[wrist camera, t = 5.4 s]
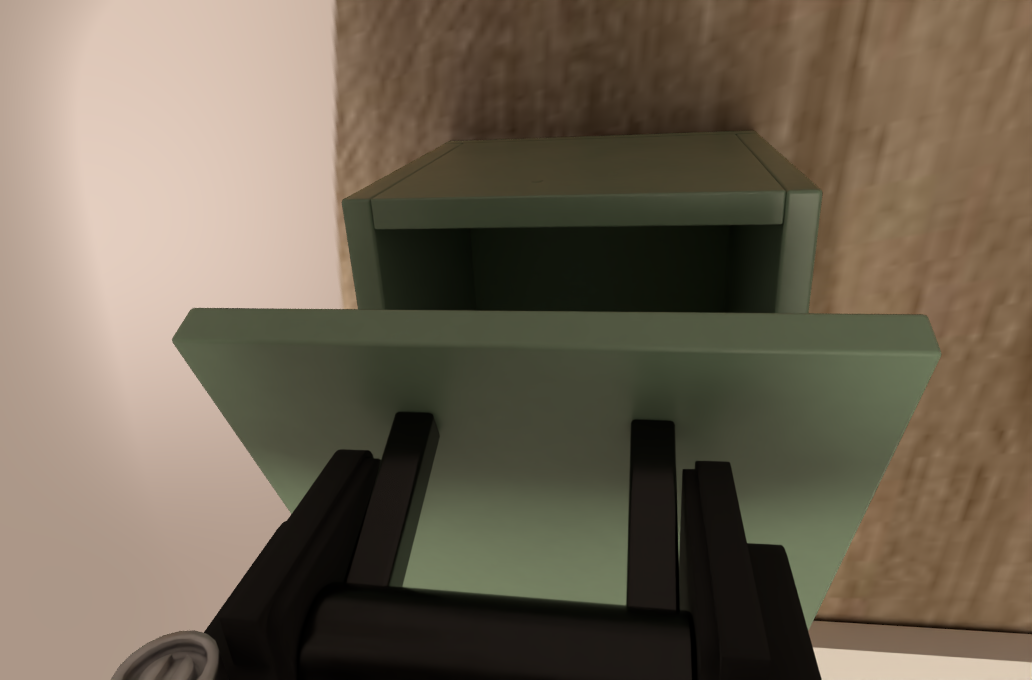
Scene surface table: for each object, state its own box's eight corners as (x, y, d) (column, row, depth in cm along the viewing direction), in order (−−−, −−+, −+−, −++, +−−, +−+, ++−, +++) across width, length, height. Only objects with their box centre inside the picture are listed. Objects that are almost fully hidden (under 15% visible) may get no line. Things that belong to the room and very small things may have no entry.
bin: (448, 140, 27) (339, 199, 18) (755, 129, 25) (824, 189, 16) (478, 474, 34) (410, 654, 24) (727, 487, 32) (764, 689, 22)
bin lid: (190, 306, 12) (-12, 622, 8) (928, 312, 10) (1088, 735, 6) (409, 652, 24) (365, 845, 20) (766, 687, 22) (788, 909, 18)
